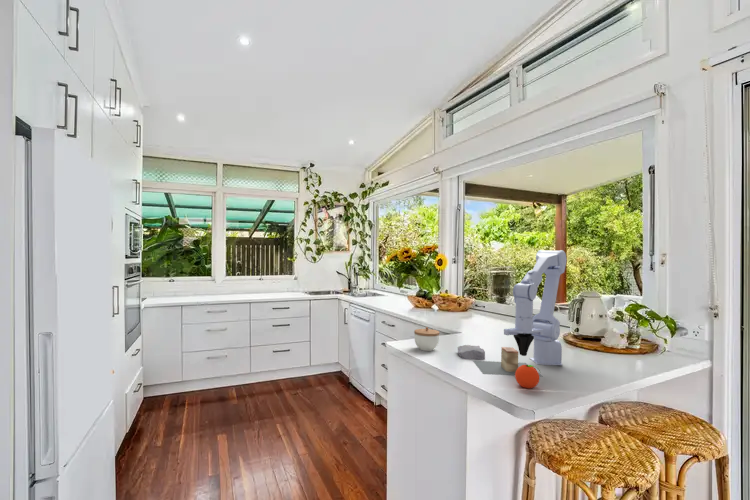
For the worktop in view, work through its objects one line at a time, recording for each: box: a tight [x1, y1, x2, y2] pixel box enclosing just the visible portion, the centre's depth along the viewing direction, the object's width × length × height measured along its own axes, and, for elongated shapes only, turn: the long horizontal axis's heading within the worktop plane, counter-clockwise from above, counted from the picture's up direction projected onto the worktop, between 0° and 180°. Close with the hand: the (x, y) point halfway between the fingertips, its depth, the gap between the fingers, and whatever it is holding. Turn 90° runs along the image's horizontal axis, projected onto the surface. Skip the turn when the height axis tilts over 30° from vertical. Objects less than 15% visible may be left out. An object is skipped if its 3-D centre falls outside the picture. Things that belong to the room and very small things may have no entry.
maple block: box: [500, 346, 519, 372], centre depth 131 cm, size 4×6×7 cm, turn 178°
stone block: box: [457, 344, 486, 360], centre depth 148 cm, size 12×5×10 cm
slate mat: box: [472, 360, 544, 378], centre depth 132 cm, size 20×16×1 cm
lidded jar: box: [413, 326, 440, 352], centre depth 157 cm, size 11×11×9 cm
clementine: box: [514, 364, 541, 389], centre depth 113 cm, size 8×7×7 cm
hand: (523, 355), depth 130 cm, fingers closed
